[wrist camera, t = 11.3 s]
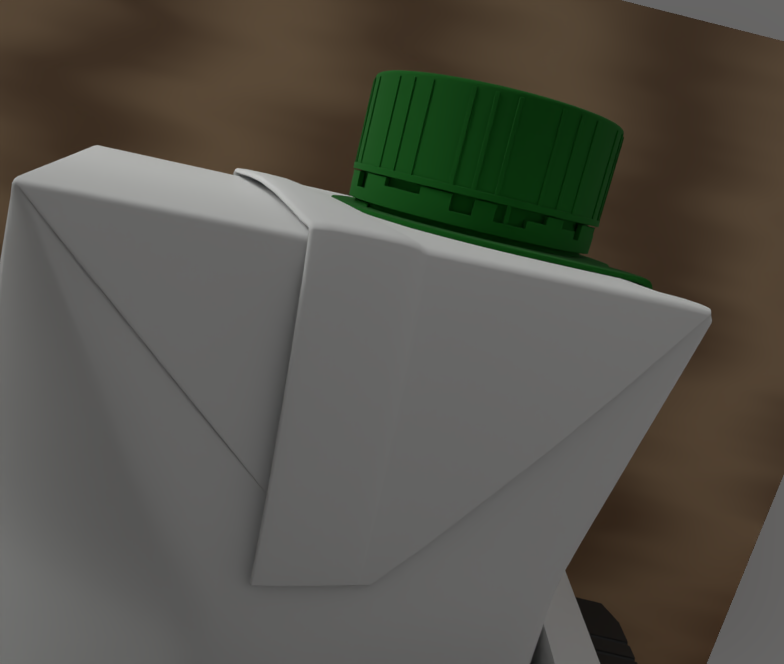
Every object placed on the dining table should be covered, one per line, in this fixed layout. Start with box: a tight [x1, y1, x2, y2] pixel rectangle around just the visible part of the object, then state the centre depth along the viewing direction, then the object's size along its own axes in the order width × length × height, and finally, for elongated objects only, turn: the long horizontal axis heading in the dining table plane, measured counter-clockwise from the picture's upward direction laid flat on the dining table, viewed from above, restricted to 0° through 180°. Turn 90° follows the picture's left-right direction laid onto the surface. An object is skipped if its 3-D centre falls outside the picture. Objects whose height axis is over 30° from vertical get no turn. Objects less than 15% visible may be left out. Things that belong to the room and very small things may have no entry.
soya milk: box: [0, 70, 712, 664], centre depth 12 cm, size 9×9×20 cm
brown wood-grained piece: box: [0, 0, 784, 664], centre depth 12 cm, size 24×16×26 cm, turn 88°
